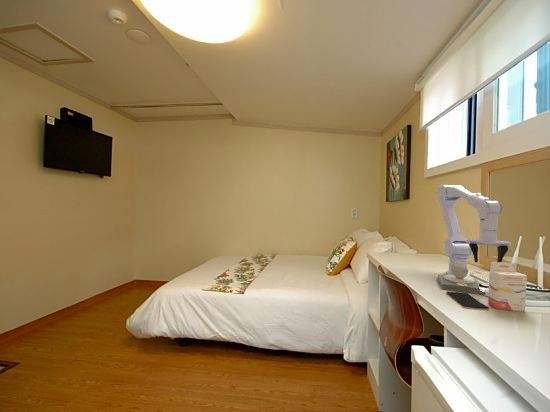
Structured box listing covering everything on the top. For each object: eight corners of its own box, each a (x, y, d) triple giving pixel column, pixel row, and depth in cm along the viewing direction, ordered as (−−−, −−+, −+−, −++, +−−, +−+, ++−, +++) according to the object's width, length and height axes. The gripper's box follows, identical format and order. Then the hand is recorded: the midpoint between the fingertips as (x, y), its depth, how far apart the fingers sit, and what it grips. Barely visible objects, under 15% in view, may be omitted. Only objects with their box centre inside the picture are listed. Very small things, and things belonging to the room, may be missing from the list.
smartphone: (464, 305, 91) (445, 291, 105) (464, 309, 91) (445, 294, 105) (489, 308, 89) (467, 292, 104) (489, 311, 89) (467, 296, 104)
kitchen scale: (437, 278, 125) (438, 272, 125) (475, 283, 119) (475, 276, 119) (442, 288, 111) (442, 281, 111) (485, 294, 105) (485, 287, 105)
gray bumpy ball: (462, 276, 120) (463, 260, 120) (471, 281, 113) (472, 263, 113) (447, 275, 120) (447, 259, 120) (455, 280, 113) (456, 263, 113)
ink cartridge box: (497, 310, 90) (499, 264, 89) (487, 304, 95) (488, 261, 94) (526, 311, 89) (528, 265, 89) (514, 305, 94) (516, 262, 94)
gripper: (469, 229, 113) (468, 262, 114) (514, 232, 107) (513, 267, 107) (465, 228, 120) (464, 259, 120) (508, 230, 114) (507, 263, 114)
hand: (487, 263), depth 114 cm, fingers open, 7 cm apart
